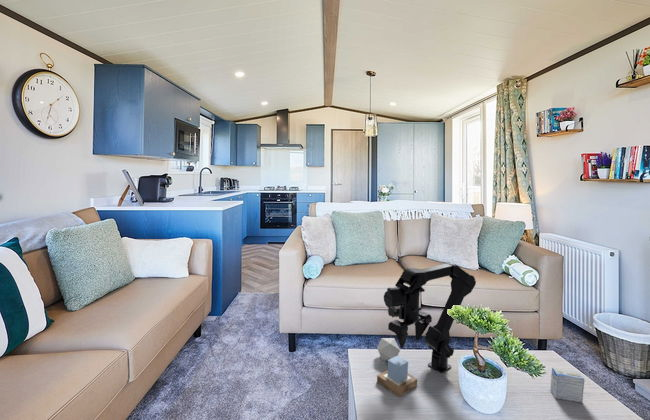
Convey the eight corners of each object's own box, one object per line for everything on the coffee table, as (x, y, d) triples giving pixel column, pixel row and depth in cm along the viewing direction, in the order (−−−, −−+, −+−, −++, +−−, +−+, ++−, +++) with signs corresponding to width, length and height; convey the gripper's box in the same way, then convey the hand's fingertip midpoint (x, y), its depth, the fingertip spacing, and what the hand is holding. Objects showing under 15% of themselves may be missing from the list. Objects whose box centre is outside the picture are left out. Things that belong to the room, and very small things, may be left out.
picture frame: (395, 372, 120) (395, 365, 120) (417, 385, 112) (417, 378, 112) (377, 381, 114) (377, 375, 114) (398, 396, 106) (399, 389, 106)
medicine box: (576, 395, 108) (578, 371, 107) (582, 403, 104) (585, 378, 103) (549, 390, 110) (551, 367, 110) (555, 398, 106) (556, 374, 105)
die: (394, 369, 123) (406, 345, 126) (374, 356, 125) (386, 333, 127) (389, 364, 132) (401, 342, 134) (371, 352, 133) (382, 331, 135)
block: (396, 371, 117) (397, 355, 116) (407, 377, 113) (408, 361, 112) (387, 376, 114) (387, 360, 113) (398, 383, 110) (398, 366, 109)
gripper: (409, 292, 129) (408, 329, 130) (377, 302, 117) (376, 342, 119) (433, 300, 120) (431, 339, 121) (401, 312, 108) (400, 355, 110)
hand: (409, 343), depth 118 cm, fingers open, 9 cm apart
